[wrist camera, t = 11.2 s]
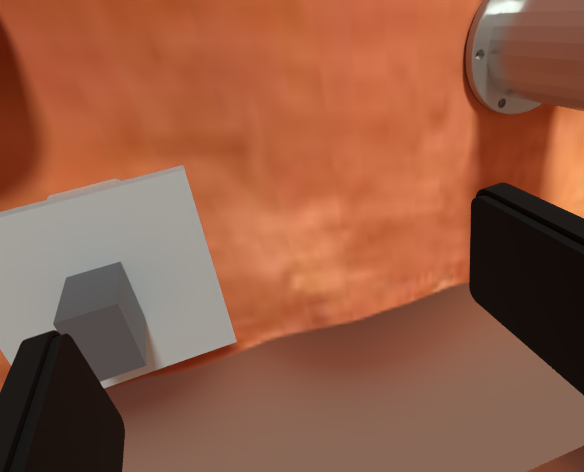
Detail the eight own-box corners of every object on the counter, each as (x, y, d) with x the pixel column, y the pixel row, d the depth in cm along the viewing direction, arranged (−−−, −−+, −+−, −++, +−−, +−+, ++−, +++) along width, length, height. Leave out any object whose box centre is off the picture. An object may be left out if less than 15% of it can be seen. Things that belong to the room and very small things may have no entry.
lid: (182, 165, 28) (193, 197, 23) (234, 334, 35) (250, 387, 30) (-70, 229, 25) (-124, 283, 20) (44, 399, 32) (26, 471, 27)
